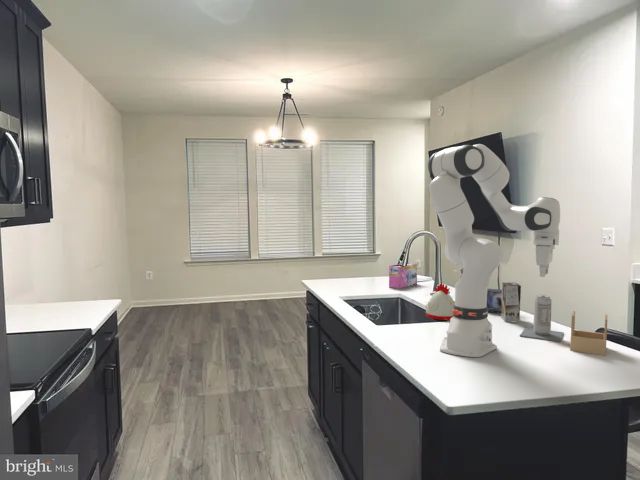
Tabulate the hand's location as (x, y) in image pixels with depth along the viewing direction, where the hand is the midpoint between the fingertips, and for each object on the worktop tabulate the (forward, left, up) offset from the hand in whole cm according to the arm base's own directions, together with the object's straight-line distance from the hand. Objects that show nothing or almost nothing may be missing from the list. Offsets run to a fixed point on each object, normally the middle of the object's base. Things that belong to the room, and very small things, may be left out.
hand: (543, 275), depth 180 cm
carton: (-11, -16, -24) cm, 31 cm away
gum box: (+79, +88, -24) cm, 121 cm away
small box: (+33, +24, -24) cm, 47 cm away
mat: (0, 0, -24) cm, 24 cm away
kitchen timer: (+10, +43, -24) cm, 50 cm away
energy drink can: (0, 0, -23) cm, 23 cm away
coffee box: (+20, +15, -24) cm, 35 cm away
